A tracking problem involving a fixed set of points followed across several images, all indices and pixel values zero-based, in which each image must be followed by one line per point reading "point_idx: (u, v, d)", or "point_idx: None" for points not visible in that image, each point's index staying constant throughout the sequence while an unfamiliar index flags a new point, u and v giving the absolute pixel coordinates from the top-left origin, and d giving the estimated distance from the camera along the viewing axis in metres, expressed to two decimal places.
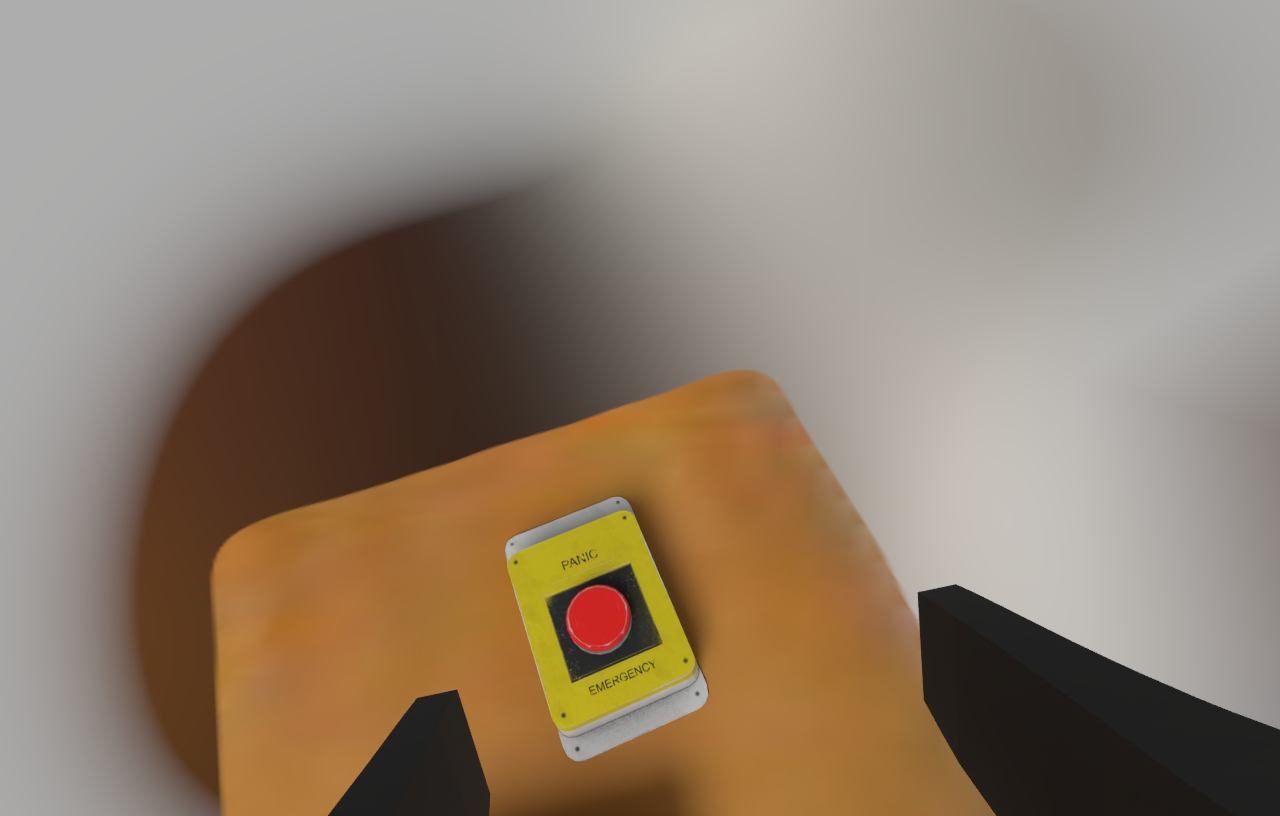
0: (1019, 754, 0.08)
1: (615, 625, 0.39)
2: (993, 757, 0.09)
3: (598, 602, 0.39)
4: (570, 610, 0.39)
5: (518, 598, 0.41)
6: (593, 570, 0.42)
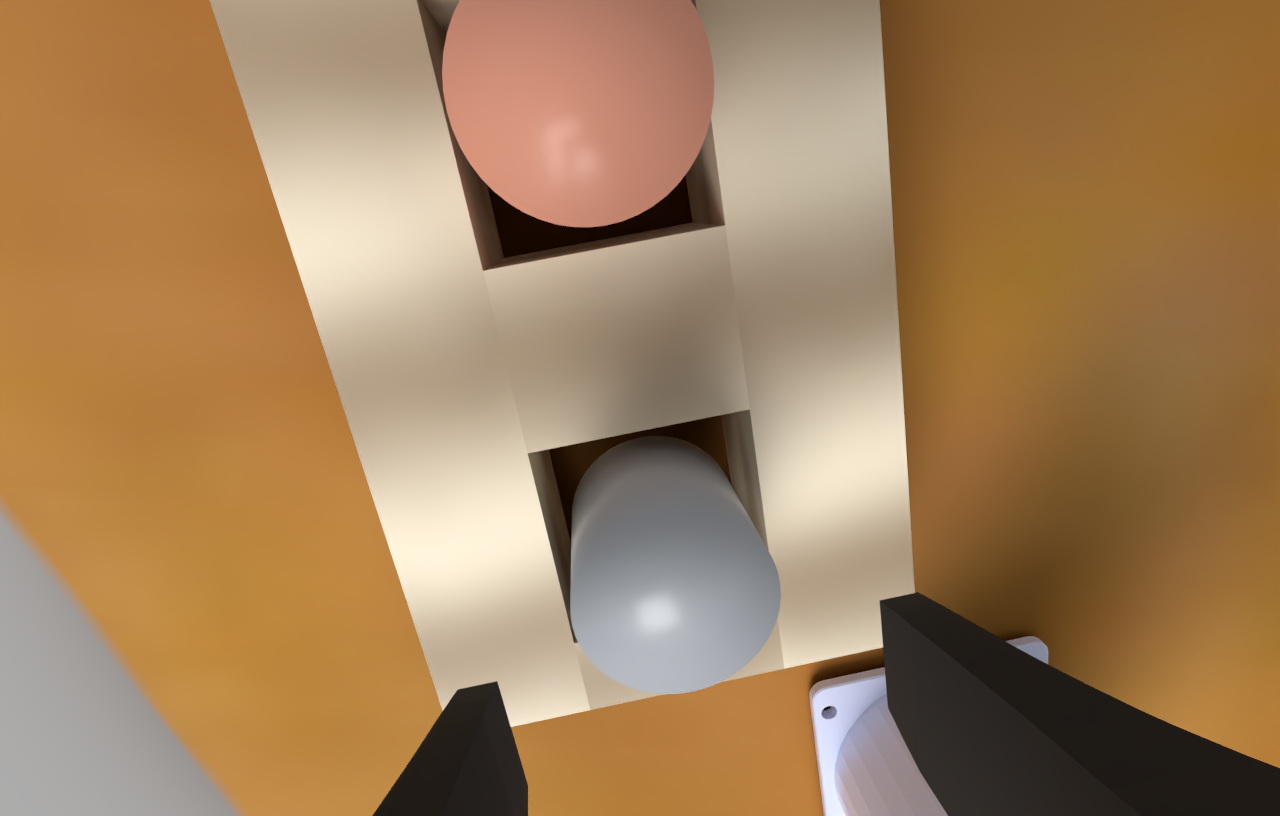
0: (972, 764, 0.08)
1: None
2: (949, 766, 0.09)
3: None
4: None
5: None
6: None
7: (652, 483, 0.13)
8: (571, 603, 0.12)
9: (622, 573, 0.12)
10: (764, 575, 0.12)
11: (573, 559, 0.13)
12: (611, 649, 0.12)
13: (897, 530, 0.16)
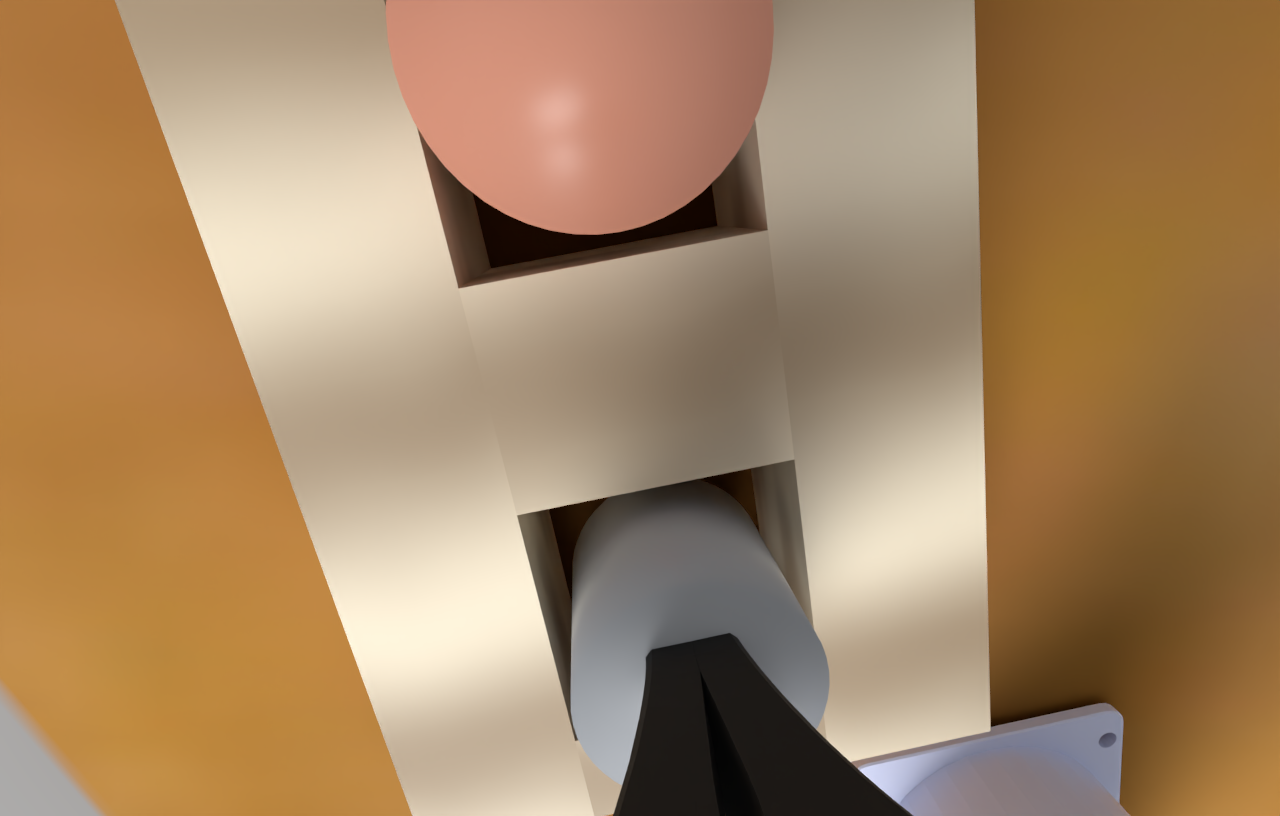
0: None
1: None
2: (734, 814, 0.09)
3: None
4: None
5: None
6: None
7: (670, 543, 0.11)
8: (572, 697, 0.10)
9: (635, 661, 0.10)
10: (810, 661, 0.10)
11: (574, 636, 0.11)
12: (621, 750, 0.10)
13: (971, 603, 0.13)
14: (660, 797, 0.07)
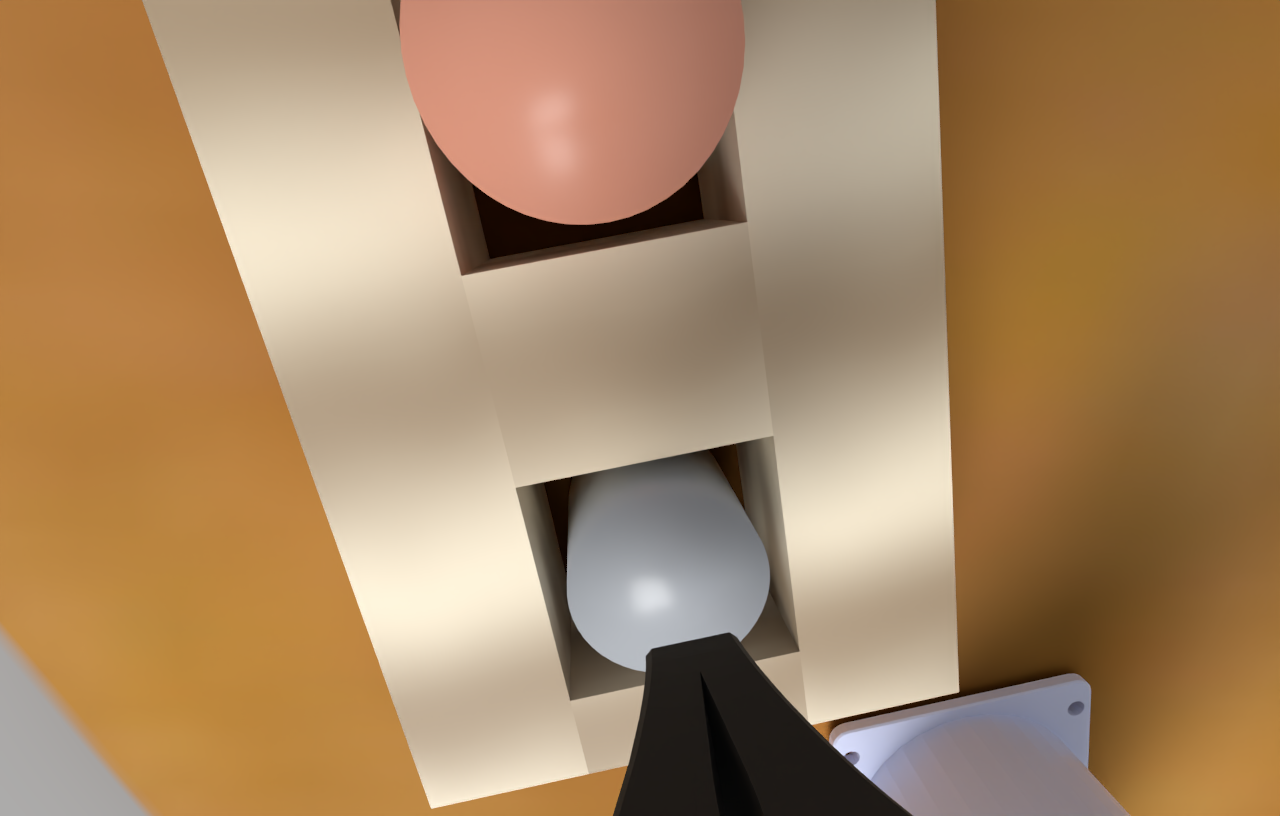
0: None
1: None
2: (734, 814, 0.09)
3: None
4: None
5: None
6: None
7: (645, 469, 0.13)
8: (567, 585, 0.13)
9: (617, 555, 0.13)
10: (754, 557, 0.13)
11: (569, 543, 0.13)
12: (606, 629, 0.13)
13: (939, 571, 0.14)
14: (660, 797, 0.07)
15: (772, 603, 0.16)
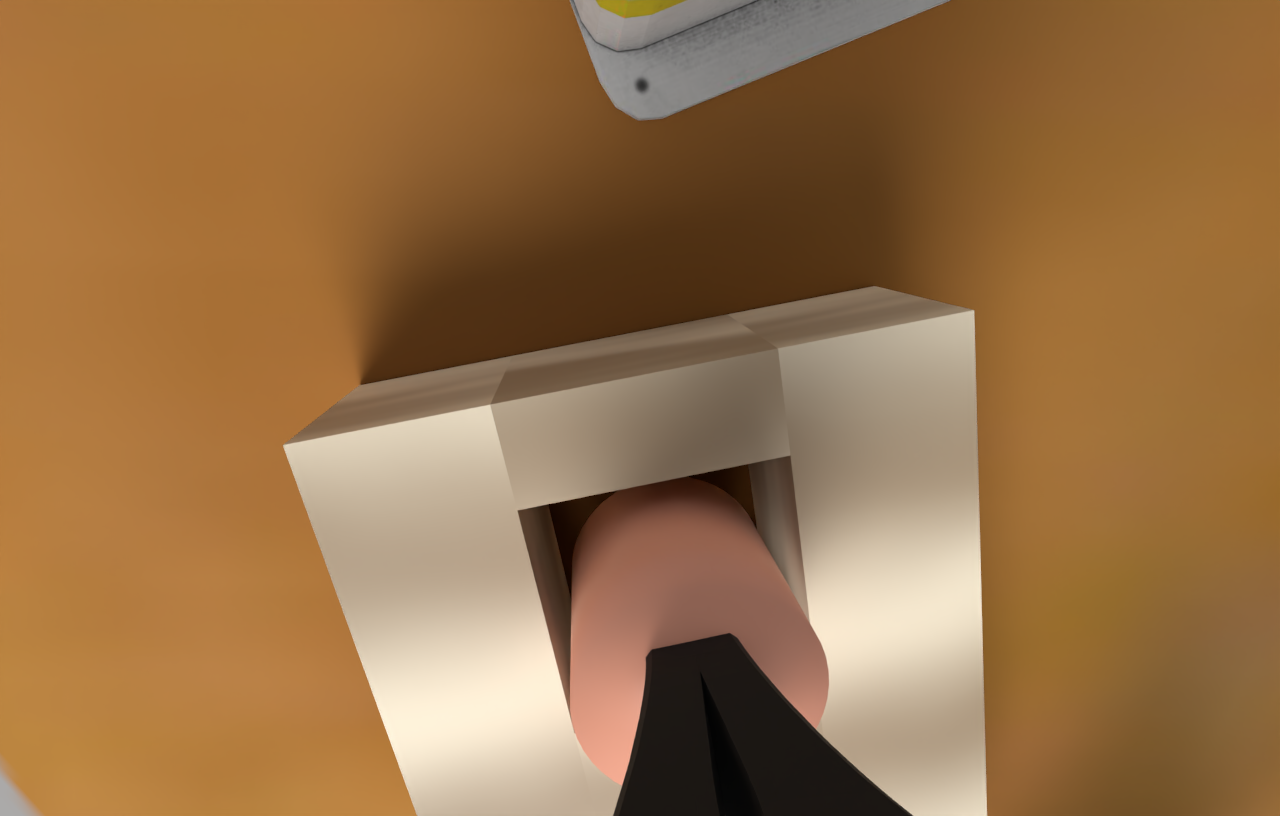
0: None
1: None
2: (734, 814, 0.09)
3: None
4: None
5: None
6: None
7: None
8: None
9: None
10: None
11: None
12: None
13: None
14: (660, 797, 0.07)
15: None
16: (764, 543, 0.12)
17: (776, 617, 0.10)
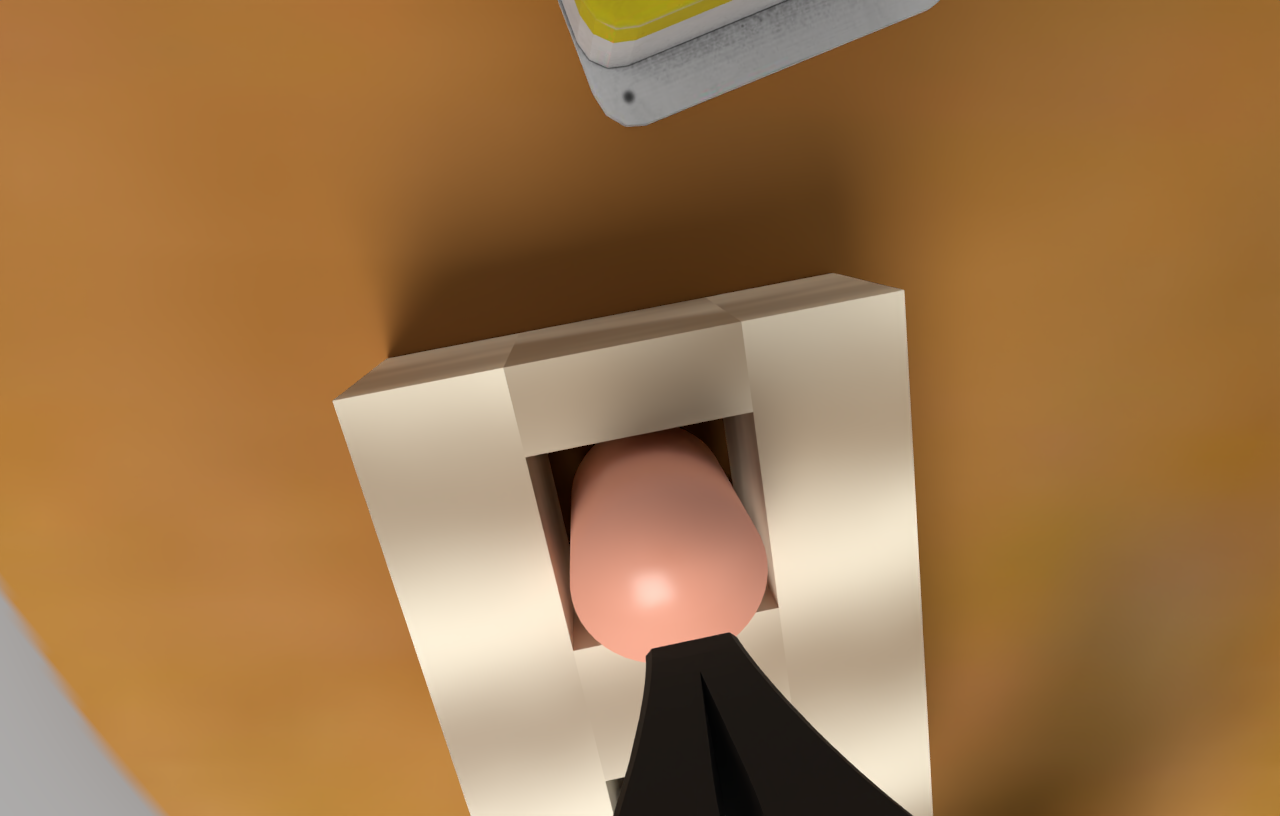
0: None
1: None
2: (734, 814, 0.09)
3: None
4: None
5: None
6: None
7: None
8: None
9: None
10: None
11: None
12: None
13: None
14: (660, 797, 0.07)
15: None
16: (724, 473, 0.16)
17: (725, 516, 0.13)
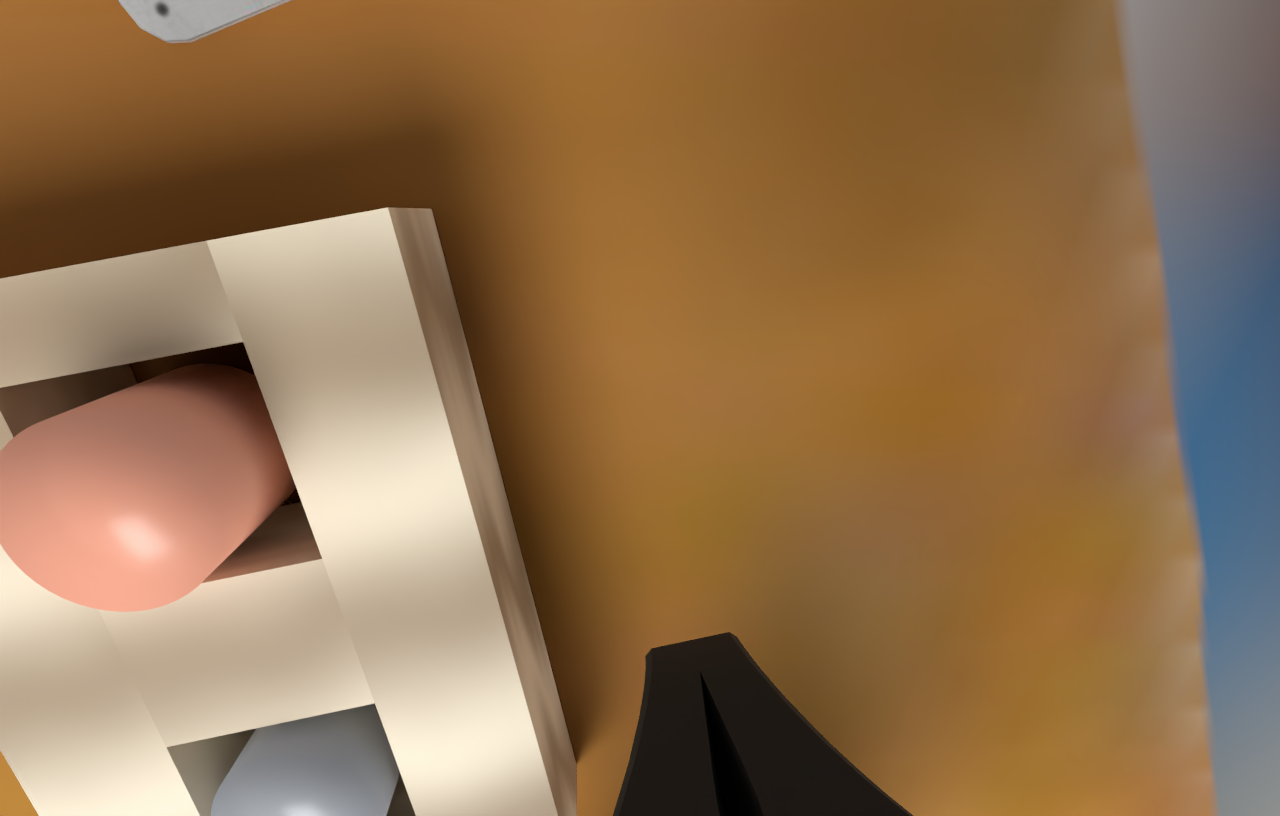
0: None
1: None
2: (734, 814, 0.09)
3: None
4: None
5: None
6: None
7: None
8: None
9: (249, 799, 0.16)
10: (365, 796, 0.16)
11: None
12: None
13: (538, 794, 0.17)
14: (660, 797, 0.07)
15: None
16: (258, 414, 0.14)
17: (154, 446, 0.12)
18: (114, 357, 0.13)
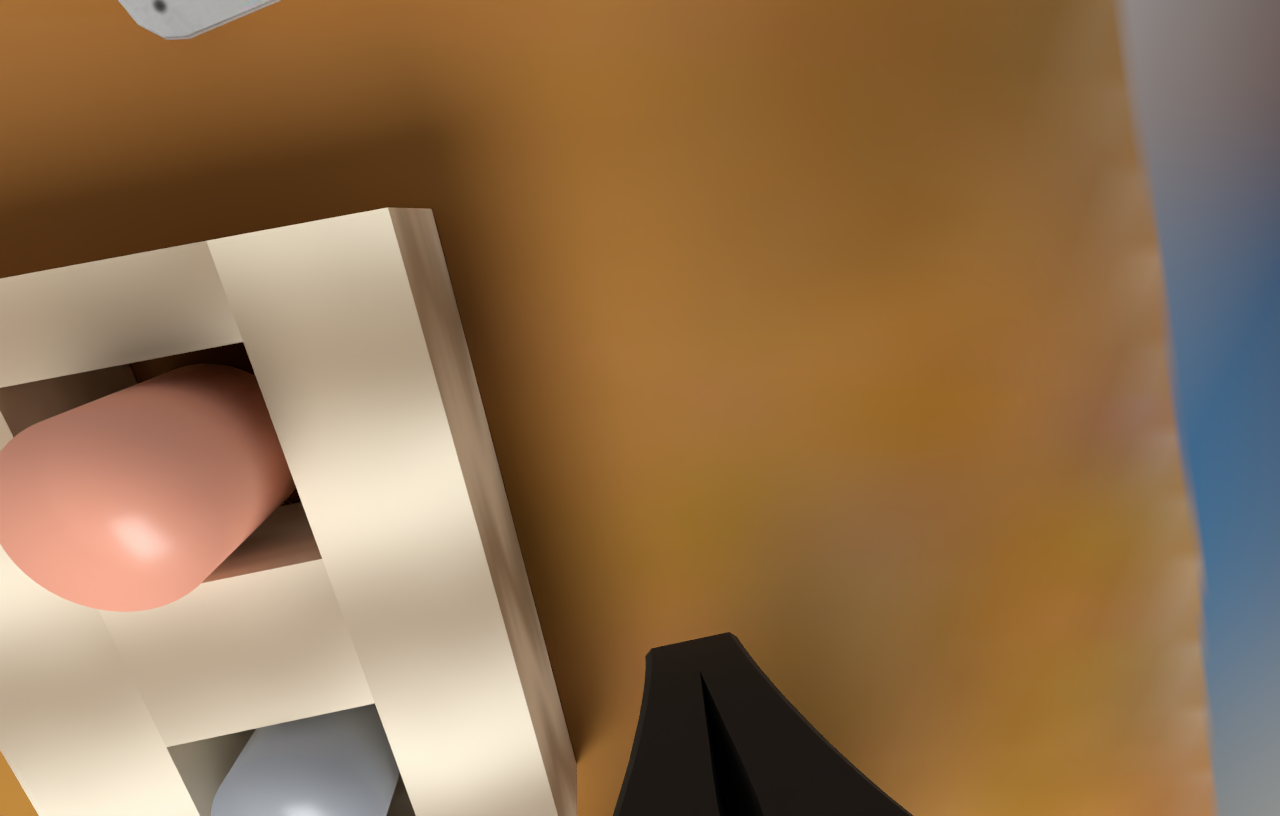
0: None
1: None
2: (734, 814, 0.09)
3: None
4: None
5: None
6: None
7: None
8: None
9: (249, 799, 0.16)
10: (365, 796, 0.16)
11: None
12: None
13: (538, 794, 0.17)
14: (660, 797, 0.07)
15: None
16: (258, 414, 0.14)
17: (154, 446, 0.12)
18: (114, 357, 0.13)
